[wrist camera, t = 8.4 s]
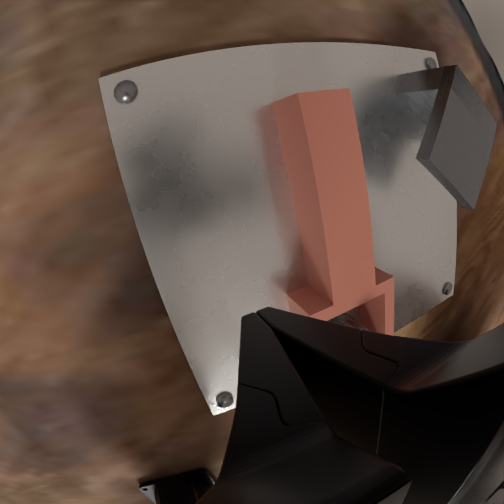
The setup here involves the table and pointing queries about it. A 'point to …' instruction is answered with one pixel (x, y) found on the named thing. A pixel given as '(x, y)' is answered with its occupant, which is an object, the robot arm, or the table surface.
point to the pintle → (348, 321)
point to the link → (332, 210)
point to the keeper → (450, 129)
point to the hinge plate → (266, 187)
